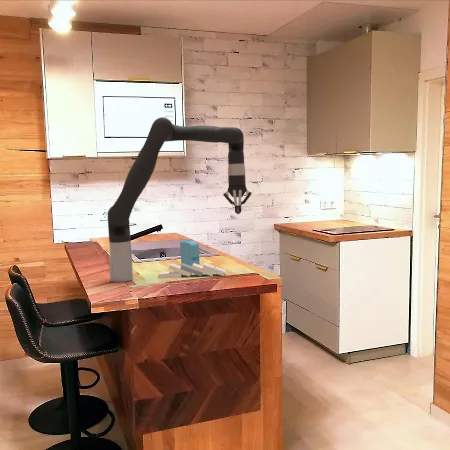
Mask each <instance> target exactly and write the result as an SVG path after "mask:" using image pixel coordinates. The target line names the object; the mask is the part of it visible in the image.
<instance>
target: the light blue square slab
mask: <svg viewBox="0 0 450 450" xmlns="http://www.w3.org/2000/svg"><path fill="white" fill-rule="evenodd" d="M179 246H180V261H181V262H180V263H181V265H182V264H183V263H184V264H187V265H190V266H192V265H193V263H196V264H198V265H201V264H200V263H201V262H200V250H199V249H200V246H199V243H198V241H193V240H181V241H180V243H179Z"/></svg>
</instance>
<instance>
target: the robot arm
mask: <svg viewBox="0 0 450 450" xmlns="http://www.w3.org/2000/svg"><path fill="white" fill-rule="evenodd" d="M175 141H176V142H180V141H190V142H203V143H213V144H214V143H217V144H218V143H225V144H228V153H227V163H228V165H227V176H228V177H227V178H228V179H227V181H228V182H227V183H228V187H227V190H226V192H224V193H223V194H222V195H223V197H224V198H225V200H227V201H228V202H229V204H231V205H233V206H234V213H235V214H236V215H241V213H242V205H245V204H246V202H247V201H248V200H249V198H251V196H252V192H251V191H249V190H248V188H247V185H246V183H247V182H246V181H247V180H246V166H245V165H246V164H245V152H244V147H245V146H244V144H245V136H244V132H243V131H242V130H241V128H238V127H235V126H234V127H232V126H228V127H227V126H222V127H221V126H215V125H194V126H192V125H191V126H184V125H183V126H182V125H179V124H177V125H176V124H173V123H172V121H170V120H169V119H168V118H167V117H162V116H161V117H158V118H156V119H155V120H154V121H153V122H152V124H151V127H150V130H149V132H148V135H147V136H146V140H145V141H144V144H143V146H142V147H141V149H140V150H139V152H138V154H137V156H136V157H135V160H134V162H133V163H132V165H131V167H130V169H129V171H128V172H127V175H126V178H125V180H124V184H123V187H122V190H121V192H120V194H119V196H118V197H117V199H116V200H115V202H114V203H113V205H112V206H111V207H110V208H109V209H108V211H107V228H108V242H109V256H110V257H109V260H108V264H109V280H110V282H114V283H123V282H124V283H125V282H130V281H132V280H133V279H134V272H133V255H132V239H131V229H130V218H131V214H132V212H133V209H134V207H135V204H136V202H137V200H138V198H139V197H140V196H141V194H142V193H143V191H144V189H145V188H146V187H147V184H148V182H149V181H150V179H151V177H152V175H153V173H154V171H155V169H156V164H157V161H158V157H159V154H160V150H161V149H162V147H163V145H164V144H165V143H166V142H175ZM244 195H246V196H245V198H244V199H243V200H242V198H243V197H244ZM229 196H231V197H232V198H233V200H232V199H231V197H229Z"/></svg>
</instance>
